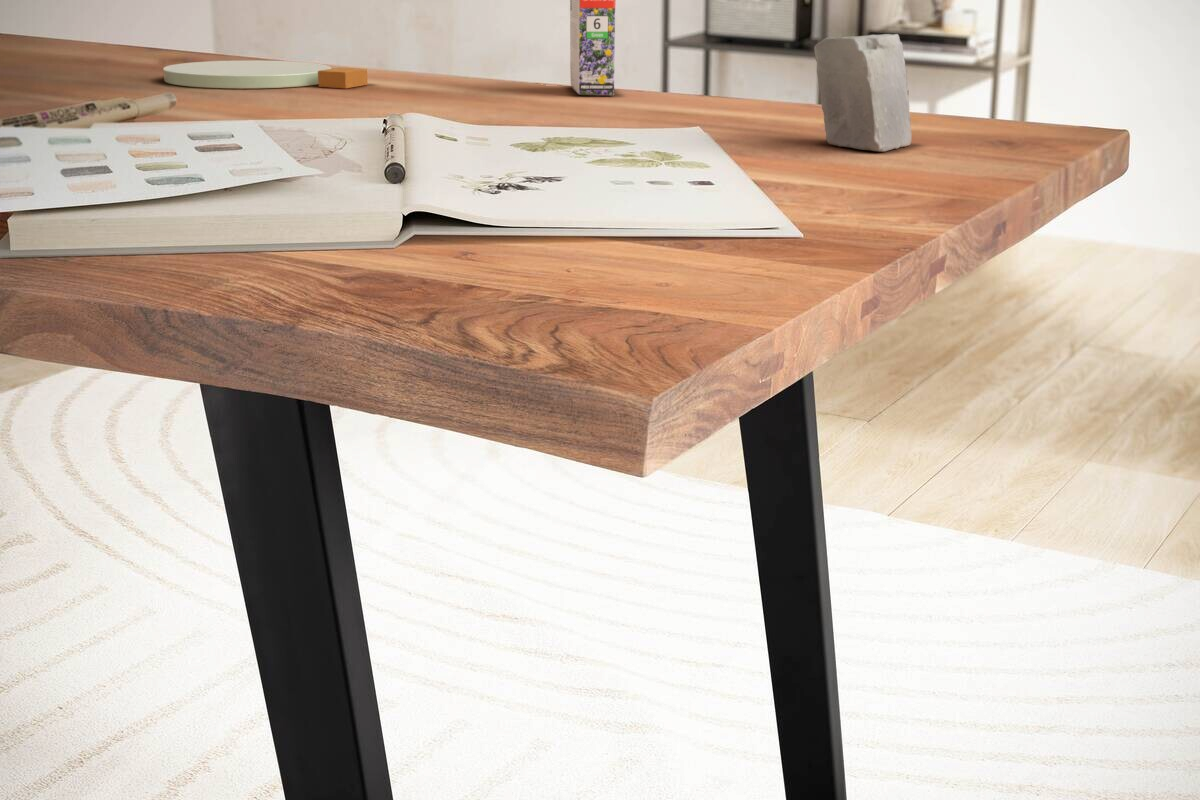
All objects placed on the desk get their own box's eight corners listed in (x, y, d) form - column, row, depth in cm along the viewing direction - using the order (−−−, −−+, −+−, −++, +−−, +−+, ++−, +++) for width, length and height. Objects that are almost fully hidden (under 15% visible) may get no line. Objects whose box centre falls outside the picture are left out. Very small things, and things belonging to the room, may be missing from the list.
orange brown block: (318, 86, 121) (317, 70, 121) (340, 83, 125) (340, 67, 124) (346, 88, 120) (345, 72, 120) (367, 84, 124) (367, 68, 123)
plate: (131, 84, 120) (130, 71, 119) (212, 70, 135) (211, 58, 134) (292, 91, 117) (291, 78, 117) (355, 75, 132) (355, 63, 132)
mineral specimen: (924, 129, 95) (933, 21, 91) (890, 170, 89) (898, 55, 85) (829, 118, 98) (834, 13, 94) (789, 157, 92) (793, 45, 88)
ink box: (605, 87, 126) (608, -71, 121) (616, 96, 118) (619, -72, 114) (568, 87, 125) (569, -72, 120) (576, 96, 118) (578, -73, 113)
